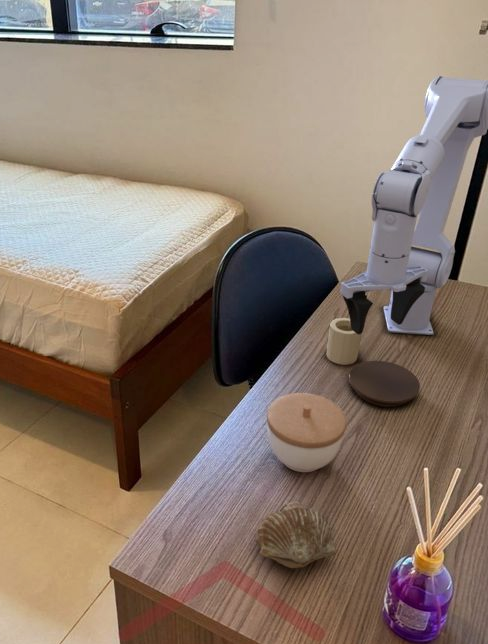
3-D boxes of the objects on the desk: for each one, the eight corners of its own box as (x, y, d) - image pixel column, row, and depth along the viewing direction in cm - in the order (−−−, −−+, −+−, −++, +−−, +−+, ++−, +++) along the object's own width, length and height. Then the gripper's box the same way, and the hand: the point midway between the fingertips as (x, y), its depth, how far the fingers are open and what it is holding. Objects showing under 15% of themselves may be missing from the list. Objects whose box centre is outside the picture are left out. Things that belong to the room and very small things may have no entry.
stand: (345, 367, 105) (347, 358, 104) (412, 372, 103) (414, 363, 101) (349, 407, 96) (351, 397, 95) (422, 414, 94) (425, 404, 92)
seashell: (337, 582, 70) (320, 523, 77) (349, 547, 66) (330, 488, 72) (258, 583, 70) (248, 525, 76) (265, 548, 66) (254, 490, 72)
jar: (326, 346, 110) (329, 316, 107) (355, 349, 109) (360, 318, 106) (326, 363, 106) (331, 332, 103) (358, 365, 105) (363, 334, 102)
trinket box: (335, 492, 81) (343, 440, 76) (257, 474, 84) (260, 424, 79) (343, 440, 89) (351, 390, 84) (271, 426, 93) (275, 377, 88)
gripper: (364, 270, 86) (352, 348, 93) (448, 252, 89) (430, 329, 96) (336, 250, 91) (327, 326, 99) (416, 235, 95) (401, 308, 102)
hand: (376, 326), depth 98 cm, fingers open, 7 cm apart
